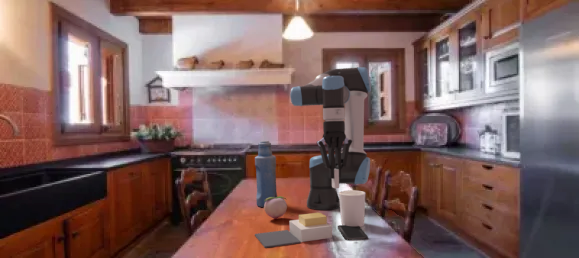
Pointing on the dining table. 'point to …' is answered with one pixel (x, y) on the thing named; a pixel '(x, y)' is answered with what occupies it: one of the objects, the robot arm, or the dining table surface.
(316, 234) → the white stand
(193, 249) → the dining table surface
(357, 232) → the phone
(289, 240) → the dark grey mat
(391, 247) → the dining table surface
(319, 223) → the ochre tile
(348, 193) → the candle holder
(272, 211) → the decorative fruit
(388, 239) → the dining table surface
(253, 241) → the dining table surface
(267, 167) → the bottle
